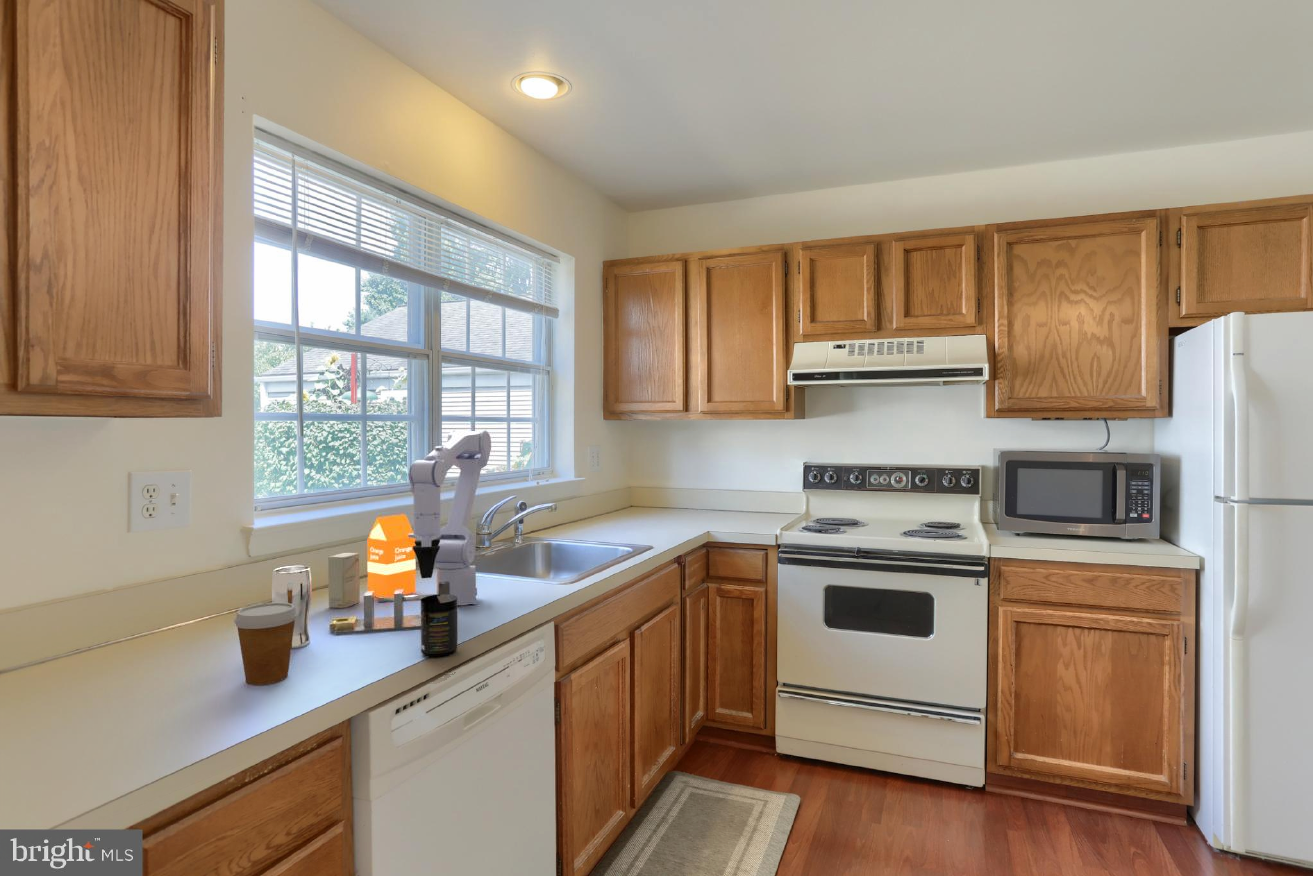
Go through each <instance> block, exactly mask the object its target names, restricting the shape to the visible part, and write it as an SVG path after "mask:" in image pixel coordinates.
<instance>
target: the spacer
mask: <svg viewBox="0 0 1313 876" xmlns="http://www.w3.org/2000/svg"><path fill="white" fill-rule="evenodd" d="M357 619H358V616H357V615H355V616H354V615H353V616H341V617H333V618H332V620H331V622H330V623H329V631H331V630H333V631H336V630H337V629H349V628H354V627H355V625H356V623H357Z"/></svg>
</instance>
